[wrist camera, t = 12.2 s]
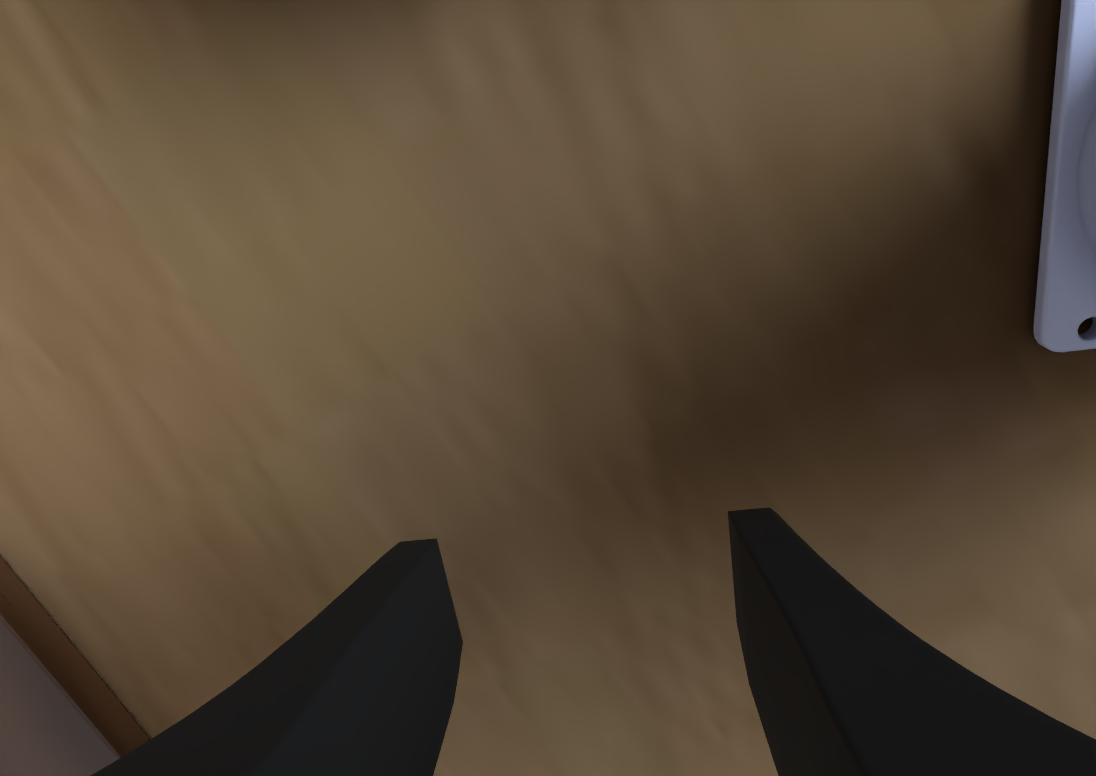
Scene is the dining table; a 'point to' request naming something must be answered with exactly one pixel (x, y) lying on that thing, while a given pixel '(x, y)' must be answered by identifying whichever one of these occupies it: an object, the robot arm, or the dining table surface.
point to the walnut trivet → (52, 696)
